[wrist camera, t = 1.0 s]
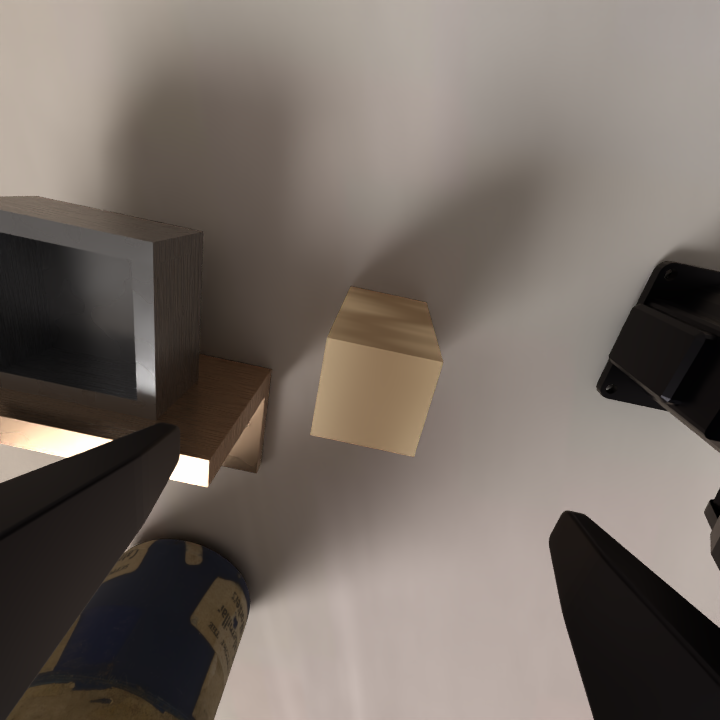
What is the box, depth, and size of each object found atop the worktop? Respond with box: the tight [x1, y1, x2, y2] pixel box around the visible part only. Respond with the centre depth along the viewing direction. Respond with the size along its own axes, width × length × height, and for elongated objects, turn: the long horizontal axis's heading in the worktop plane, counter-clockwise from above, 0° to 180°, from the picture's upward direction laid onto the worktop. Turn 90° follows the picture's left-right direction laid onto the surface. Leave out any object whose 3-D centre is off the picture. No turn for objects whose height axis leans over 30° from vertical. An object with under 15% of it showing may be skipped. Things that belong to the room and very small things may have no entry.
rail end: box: [310, 286, 443, 457], centre depth 16 cm, size 4×4×7 cm
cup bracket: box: [0, 196, 272, 487], centre depth 17 cm, size 12×13×8 cm
